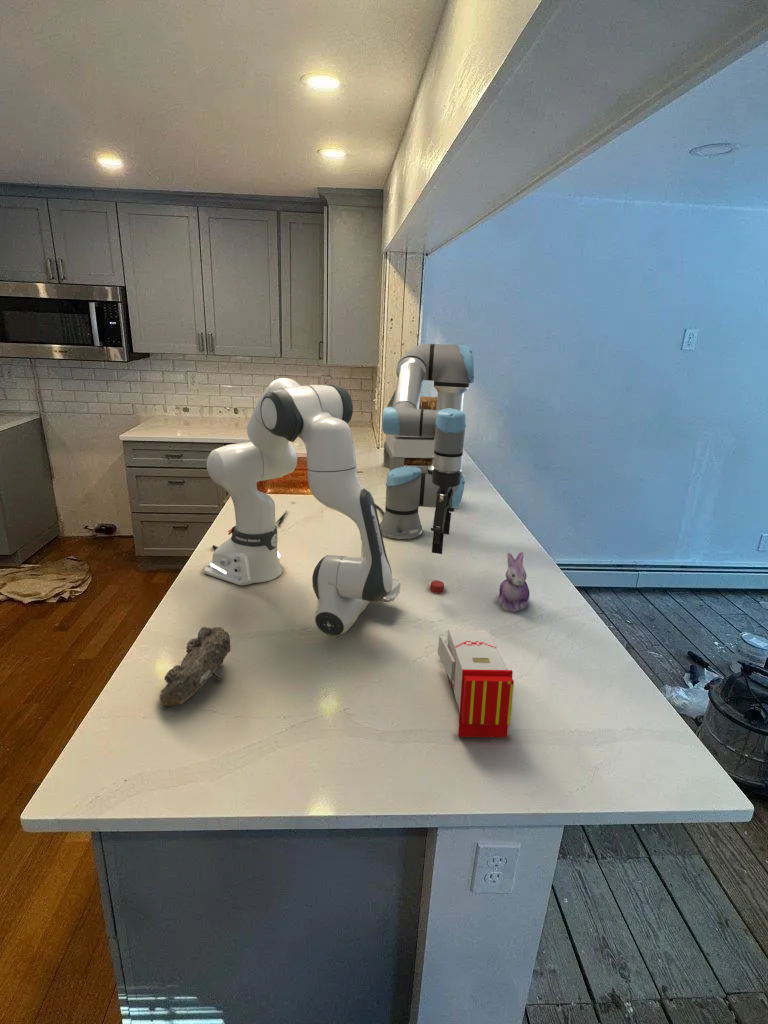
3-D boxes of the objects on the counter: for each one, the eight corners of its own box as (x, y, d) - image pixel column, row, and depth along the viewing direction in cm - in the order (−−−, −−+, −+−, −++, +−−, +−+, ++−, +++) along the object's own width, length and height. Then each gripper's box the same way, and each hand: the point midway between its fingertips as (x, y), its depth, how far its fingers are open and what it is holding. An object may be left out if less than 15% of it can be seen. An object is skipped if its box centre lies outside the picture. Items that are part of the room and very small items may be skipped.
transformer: (382, 463, 289) (386, 382, 275) (445, 464, 293) (451, 384, 279) (390, 482, 257) (394, 392, 243) (460, 483, 261) (468, 394, 247)
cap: (446, 592, 160) (446, 585, 159) (433, 594, 159) (434, 587, 158) (440, 586, 163) (440, 579, 163) (427, 587, 162) (428, 581, 161)
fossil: (184, 629, 128) (231, 598, 123) (214, 657, 131) (261, 628, 126) (138, 700, 109) (191, 667, 104) (173, 731, 112) (227, 701, 107)
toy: (488, 613, 130) (523, 677, 101) (484, 667, 133) (517, 744, 104) (435, 612, 130) (455, 676, 101) (432, 666, 133) (451, 743, 103)
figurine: (511, 616, 149) (518, 564, 143) (487, 598, 157) (493, 549, 152) (539, 609, 153) (547, 558, 148) (514, 592, 161) (521, 544, 156)
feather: (294, 505, 227) (296, 501, 226) (277, 528, 200) (280, 524, 199) (290, 503, 226) (292, 499, 226) (273, 526, 200) (276, 521, 199)
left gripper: (392, 590, 140) (407, 568, 152) (316, 576, 145) (337, 555, 158) (391, 613, 142) (406, 589, 154) (316, 598, 148) (336, 576, 160)
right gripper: (440, 455, 161) (434, 524, 169) (424, 481, 138) (419, 559, 146) (466, 458, 159) (459, 527, 167) (455, 485, 137) (447, 564, 145)
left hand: (370, 572), depth 156 cm, fingers closed on bottle, 5 cm apart
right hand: (440, 543), depth 157 cm, fingers open, 13 cm apart
